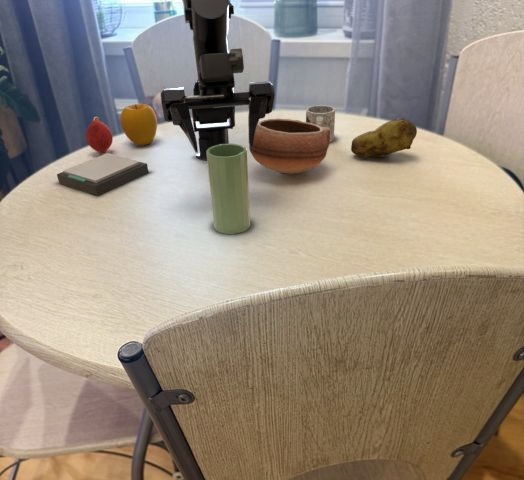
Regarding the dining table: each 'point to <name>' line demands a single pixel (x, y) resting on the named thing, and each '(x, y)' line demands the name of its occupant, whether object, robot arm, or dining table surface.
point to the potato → (385, 139)
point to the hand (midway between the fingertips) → (224, 149)
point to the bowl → (289, 145)
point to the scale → (102, 173)
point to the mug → (322, 117)
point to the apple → (139, 123)
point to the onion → (99, 136)
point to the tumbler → (229, 187)
